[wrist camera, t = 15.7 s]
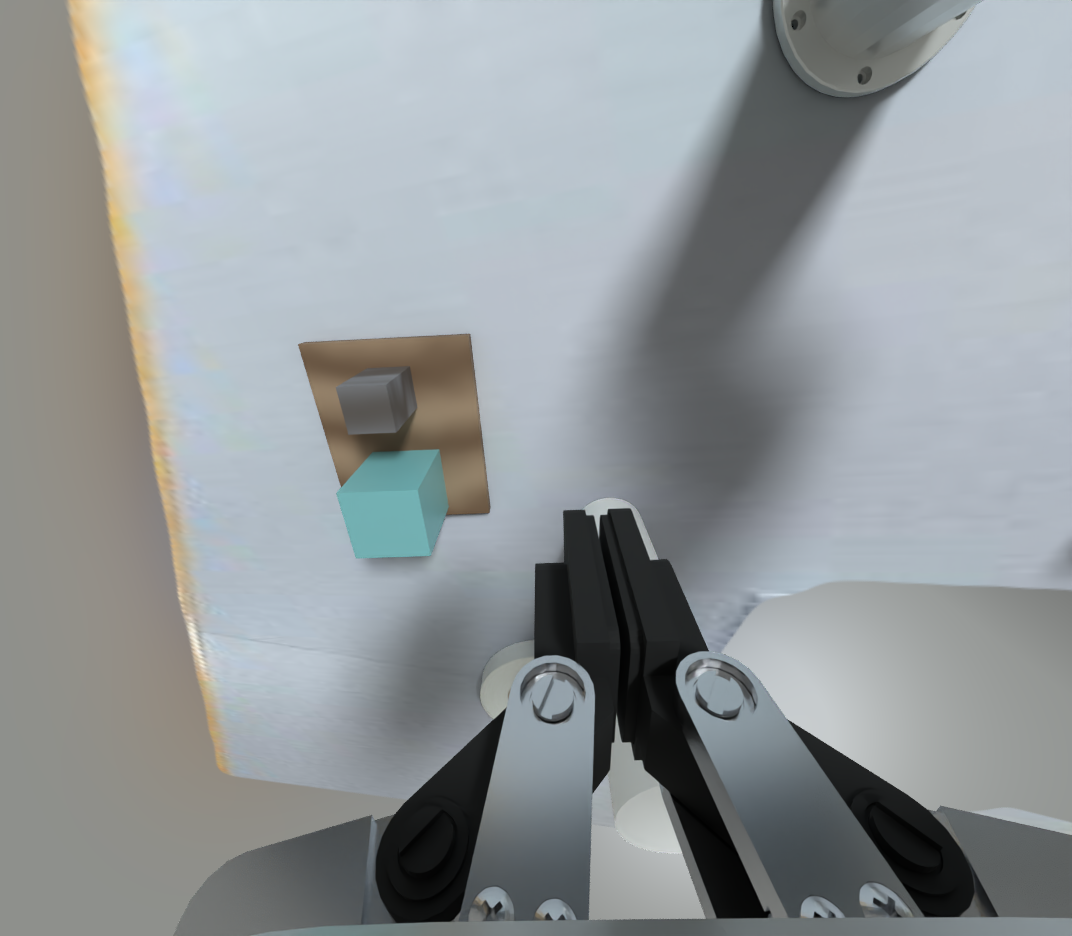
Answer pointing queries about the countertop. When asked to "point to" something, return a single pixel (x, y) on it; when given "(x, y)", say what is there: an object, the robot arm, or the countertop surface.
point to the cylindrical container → (629, 783)
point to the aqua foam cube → (395, 504)
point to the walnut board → (424, 423)
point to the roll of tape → (503, 675)
